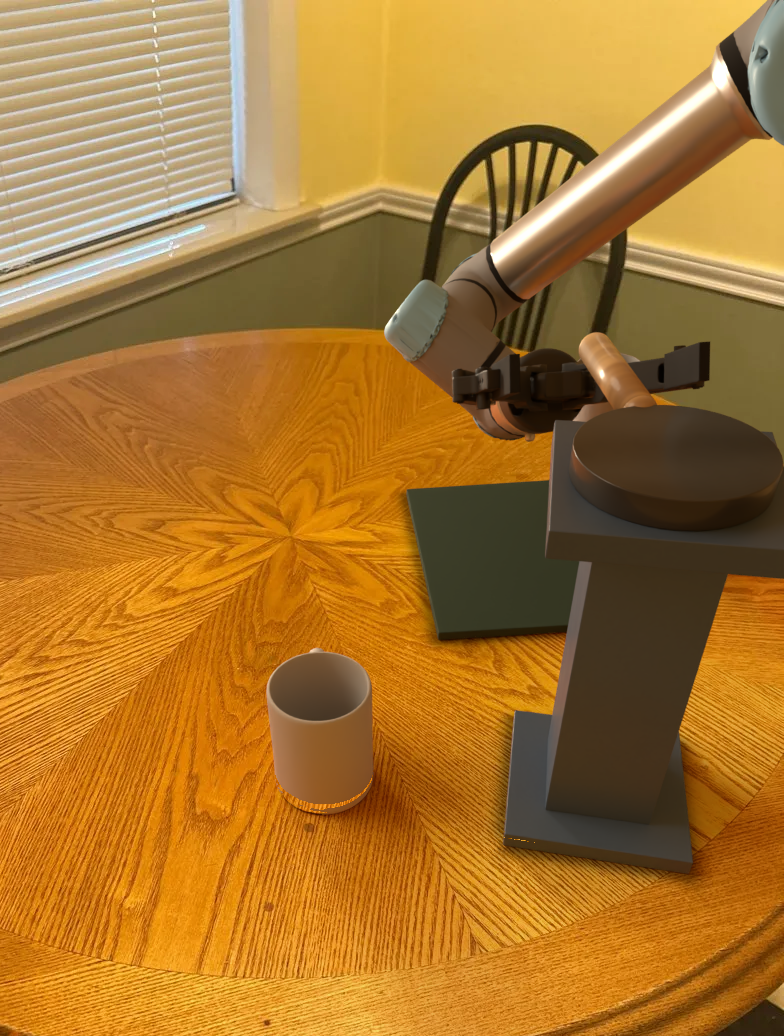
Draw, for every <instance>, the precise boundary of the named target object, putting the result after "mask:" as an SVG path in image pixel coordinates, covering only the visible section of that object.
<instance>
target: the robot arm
mask: <svg viewBox="0 0 784 1036" xmlns="http://www.w3.org/2000/svg"><path fill="white" fill-rule="evenodd" d="M772 139H773V140H774V141H775V142H777V143H779V144H780V145H781V146H783V147H784V0H766V1H765V2H763V4H762V5H761V6H760V7H758V9H757V10H755V12H754V13H752V14H751V15H750V16H749V18H747V19H746V20H745V21H744V22H743V23H742V24H740V25H739V26H738V27H737V28H736V29H735V30H734V31H732V32H731V33H730V34H729V35H727V36H726V37H725V38H724V39H723V40H722V41H720V42H719V43H718V44H717V45H715V49H714V52H713V55H712V59H711V63H710V65H709V66H708V67H706V68H705V69H703V71H701V72H700V73H699V74H698V75H696V76H695V77H694V78H693V79H692V80H690V81H689V82H688V83H687V84H685V85H684V86H683V87H681V89H679V90H678V91H676V92H675V93H674V94H673V95H671V96H670V97H669V98H668V99H666V101H664V102H663V103H661V104H660V105H659V106H658V107H656V108H655V109H654V110H653V111H652V112H650V114H648V115H647V116H645V117H644V118H643V119H642V120H641V121H639V122H638V123H637V124H636V125H634V126H633V127H632V128H631V129H629V130H628V131H627V132H626V133H625V134H623V135H622V136H621V137H619V139H618V138H617V140H616V141H614V142H613V143H612V144H611V145H610V146H609V147H607V148H606V149H604V150H603V151H601V153H600V154H598V155H596V157H594V158H593V159H592V160H591V161H589V163H587V164H586V165H585V166H583V167H582V168H581V169H580V170H579V171H578V172H577V171H576V173H575V174H574V175H572V176H571V177H570V178H569V179H567V180H566V181H565V182H564V183H562V184H561V185H560V186H558V188H556V189H554V191H552V192H551V193H550V194H548V195H547V196H546V197H545V198H543V200H541V201H540V202H539V203H538V204H536V205H535V206H534V207H533V208H531V209H530V210H529V211H528V212H526V213H525V214H524V215H522V216H521V217H520V218H518V219H517V221H515V222H514V223H512V225H509V227H508V228H506V229H505V230H504V231H503V232H502V233H500V234H499V235H498V236H497V237H494V239H493V240H492V241H491V242H490V243H489V244H488V245H486V246H485V247H483V248H482V249H480V250H479V251H478V252H476V253H473V254H471V255H470V256H468V257H466V258H465V259H464V260H462V261H461V262H460V263H459V264H458V265H457V266H456V267H455V268H454V269H453V270H452V271H451V273H450V275H449V277H448V278H447V280H446V281H445V282H444V283H443V284H442V285H441V286H439V285H438V284H437V283H435V282H434V281H432V280H431V279H423V280H420V281H419V282H418V283H417V284H416V286H415V287H414V288H413V289H412V290H411V291H410V293H409V294H408V295H407V296H406V298H405V299H404V300H403V301H402V302H401V304H400V306H398V308H397V310H396V311H395V312H394V313H393V315H392V316H391V318H390V319H389V320H388V322H387V324H386V325H385V327H384V331H383V334H384V338H385V339H386V342H388V343H389V344H390V345H391V346H392V347H393V348H394V349H395V350H396V351H397V352H398V353H399V354H400V355H402V357H403V360H405V361H406V362H408V363H410V364H411V365H412V366H413V367H415V368H416V369H417V370H418V371H419V372H421V373H422V374H423V375H424V376H426V378H428V379H429V380H430V381H432V382H433V383H434V384H435V385H436V386H437V387H439V388H440V389H441V390H442V391H443V392H445V393H446V394H447V395H449V397H451V398H452V403H454V404H457V405H459V406H461V407H462V408H463V409H464V411H466V412H467V413H469V414H470V415H471V416H472V418H473V421H474V424H476V426H477V428H478V429H479V430H480V431H481V432H483V433H484V434H485V435H487V436H489V437H490V438H493V439H498V440H501V441H510V442H511V441H517V440H521V439H523V438H524V441H525V442H528V443H530V442H533V441H535V439H536V435H540V434H542V435H543V434H548V433H553V430H554V423H555V420H564V421H573V420H574V419H575V418H576V417H577V415H578V414H579V412H580V411H581V409H582V407H584V406H585V405H590V404H598V403H606V402H608V400H607V398H606V397H605V395H604V394H603V392H602V390H601V389H600V387H599V386H598V384H597V383H596V381H595V380H594V378H593V377H592V375H591V374H590V372H589V371H588V369H587V367H586V366H585V364H583V363H578V362H577V361H578V360H576V358H574V357H573V356H572V355H571V354H569V353H568V352H566V351H563V350H560V349H557V348H551V347H543V348H538V349H534V350H532V351H529V352H528V353H526V354H524V355H521V354H520V353H516V352H515V351H513V350H512V349H511V348H510V347H509V346H508V345H506V343H505V342H504V341H503V340H501V339H500V338H499V337H498V336H497V335H495V333H493V330H494V329H495V328H496V326H497V324H498V323H500V322H501V321H502V320H503V319H505V318H506V317H507V316H509V315H511V314H512V313H513V312H514V311H516V310H518V309H519V308H520V307H521V306H523V305H524V304H525V303H526V302H528V301H529V300H530V299H531V298H533V297H534V296H535V295H536V294H538V293H539V292H541V291H543V290H544V288H546V287H548V286H549V285H551V284H552V283H553V282H555V281H556V280H558V279H559V278H560V277H562V276H564V275H565V274H566V273H568V272H569V271H571V270H572V269H573V268H574V267H576V266H577V265H578V264H580V263H582V261H584V260H586V259H587V258H588V257H590V256H591V255H592V254H594V253H595V252H596V251H598V250H600V249H601V248H602V247H604V246H605V245H607V244H608V243H609V242H610V241H612V240H613V239H615V238H616V237H617V236H619V235H620V234H622V233H623V232H624V231H626V230H627V229H629V228H630V227H632V225H634V224H635V223H637V222H638V221H640V220H641V219H643V217H645V216H647V215H648V214H650V213H651V212H653V211H654V210H655V209H657V208H658V207H659V206H661V205H662V204H664V203H665V202H666V201H668V200H669V199H670V198H672V197H673V196H675V195H676V194H677V193H679V192H681V191H682V190H683V189H685V188H686V187H687V186H689V185H690V184H692V183H693V182H694V181H695V180H697V179H698V178H700V177H701V176H702V175H704V174H705V173H707V172H709V171H710V170H711V169H713V168H714V167H715V166H716V165H718V164H719V163H721V162H722V161H724V160H725V159H726V158H727V157H729V156H731V155H732V154H733V153H734V152H736V151H737V150H739V149H740V148H741V147H743V146H745V145H746V144H747V143H749V142H750V141H751V140H764V141H765V140H766V141H770V140H772ZM663 356H664V357H659V358H652V359H645V360H640V361H638V362H631V363H628V365H629V366H630V367H631V369H632V370H633V371H634V373H635V374H636V375H637V377H638V378H639V379H640V381H641V382H642V384H643V385H644V386H645V388H646V389H647V390H648V392H649V393H650V394H651V395H653V394H654V395H655V394H661V393H668V392H675V391H682V390H690V389H692V390H700V389H701V388H704V387H705V382H708V381H710V377H711V375H710V374H711V341H709V340H708V341H699V342H696V343H693V344H690V345H685V344H684V345H683V344H682V345H674V346H673V350H672V351H670V352H666V353H664V355H663Z"/></svg>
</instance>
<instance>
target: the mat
mask: <svg viewBox="0 0 784 1036" xmlns="http://www.w3.org/2000/svg"><path fill="white" fill-rule="evenodd" d="M405 493H406V495H405V496H406V500H407V505H408V509H409V514H410V518H411V522H412V527H413V532H414V536H415V542H416V546H417V551H418V554H419V559H420V563H421V567H422V568H421V569H422V573H423V577H424V582H425V586H426V591H427V596H428V600H429V605H430V609H431V613H432V618H433V623H434V627H435V632H436V636H437V639H438V641H443V640H444V641H445V640H460V639H461V640H462V639H463V640H464V639H478V638H494V637H495V638H496V637H509V636H510V637H511V636H527V635H528V636H529V635H544V634H561V633H567V629H568V623H569V618H570V612H571V606H572V601H573V595H574V589H575V584H576V578H577V573H578V567H579V561H571V560H560V559H548V558H545V548H546V531H547V514H548V496H549V479H547V480H546V479H544V480H530V481H528V480H527V481H515V482H499V483H483V484H467V485H466V484H465V485H451V486H436V487H435V486H433V487H420V488H418V487H417V488H406V492H405Z"/></svg>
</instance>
